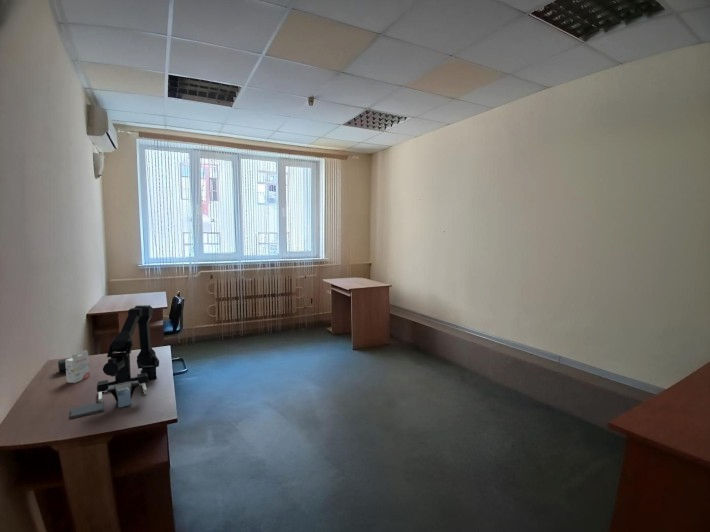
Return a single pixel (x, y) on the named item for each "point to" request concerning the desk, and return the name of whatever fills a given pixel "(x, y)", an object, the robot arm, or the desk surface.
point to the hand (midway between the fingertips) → (124, 400)
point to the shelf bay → (124, 387)
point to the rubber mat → (86, 409)
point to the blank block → (124, 397)
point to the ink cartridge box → (77, 367)
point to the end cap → (62, 366)
